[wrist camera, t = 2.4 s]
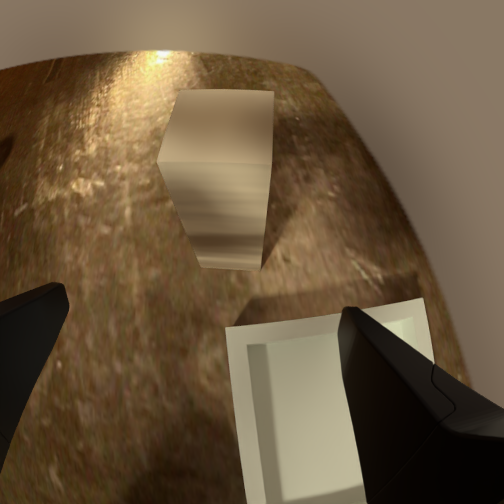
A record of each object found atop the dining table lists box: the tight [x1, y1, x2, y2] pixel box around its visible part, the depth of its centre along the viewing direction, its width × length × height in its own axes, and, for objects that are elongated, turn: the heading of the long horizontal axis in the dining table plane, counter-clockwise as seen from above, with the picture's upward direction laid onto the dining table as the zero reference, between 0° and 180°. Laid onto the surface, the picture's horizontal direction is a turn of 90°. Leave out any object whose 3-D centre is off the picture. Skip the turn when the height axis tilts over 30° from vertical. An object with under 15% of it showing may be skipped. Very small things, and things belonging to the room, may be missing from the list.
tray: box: [225, 298, 434, 504], centre depth 18 cm, size 14×16×3 cm
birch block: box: [157, 89, 274, 271], centre depth 18 cm, size 4×4×13 cm
